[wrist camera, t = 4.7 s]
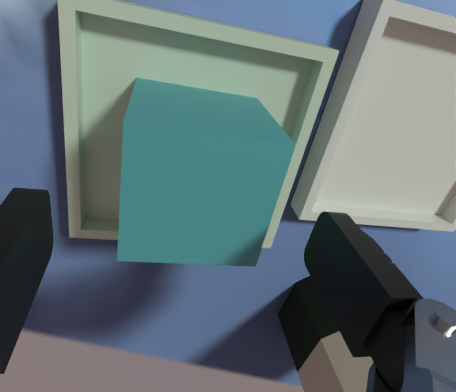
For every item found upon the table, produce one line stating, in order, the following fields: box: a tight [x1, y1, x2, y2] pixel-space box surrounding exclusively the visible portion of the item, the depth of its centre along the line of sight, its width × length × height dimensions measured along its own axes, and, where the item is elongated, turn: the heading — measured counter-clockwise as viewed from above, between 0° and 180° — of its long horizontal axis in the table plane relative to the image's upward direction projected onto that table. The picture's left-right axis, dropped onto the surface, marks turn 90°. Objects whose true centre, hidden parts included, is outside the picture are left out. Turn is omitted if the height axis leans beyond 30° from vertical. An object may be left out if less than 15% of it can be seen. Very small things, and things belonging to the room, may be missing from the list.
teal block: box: [117, 78, 296, 266], centre depth 13 cm, size 5×5×5 cm
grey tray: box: [290, 0, 456, 232], centre depth 16 cm, size 10×10×1 cm
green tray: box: [58, 0, 339, 248], centre depth 15 cm, size 10×10×1 cm
